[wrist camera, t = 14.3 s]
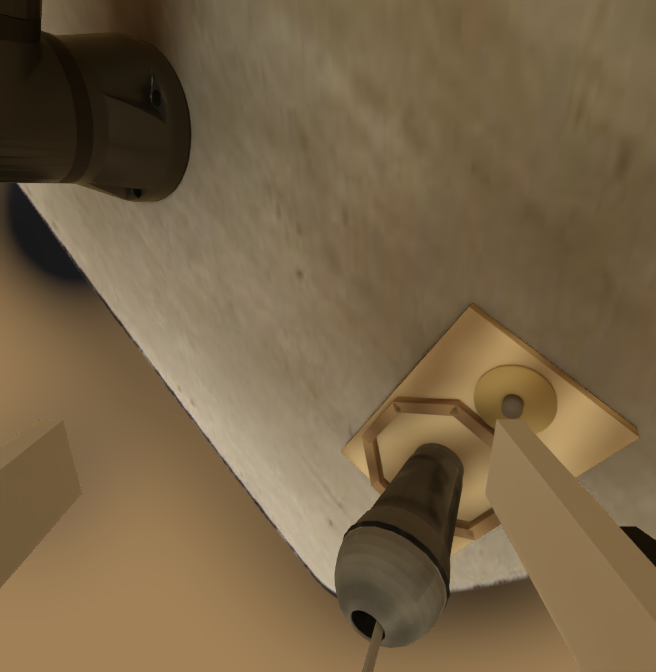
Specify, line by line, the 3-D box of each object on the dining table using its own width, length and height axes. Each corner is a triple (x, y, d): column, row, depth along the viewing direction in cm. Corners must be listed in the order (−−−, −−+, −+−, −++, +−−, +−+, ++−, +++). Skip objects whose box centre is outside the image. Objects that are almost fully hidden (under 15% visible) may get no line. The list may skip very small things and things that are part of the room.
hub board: (346, 445, 40) (332, 461, 38) (472, 302, 29) (464, 312, 27) (453, 545, 37) (445, 570, 35) (636, 428, 27) (644, 452, 24)
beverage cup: (400, 419, 35) (258, 624, 18) (486, 442, 31) (407, 718, 15) (396, 484, 37) (270, 716, 21) (476, 512, 34) (399, 815, 17)
